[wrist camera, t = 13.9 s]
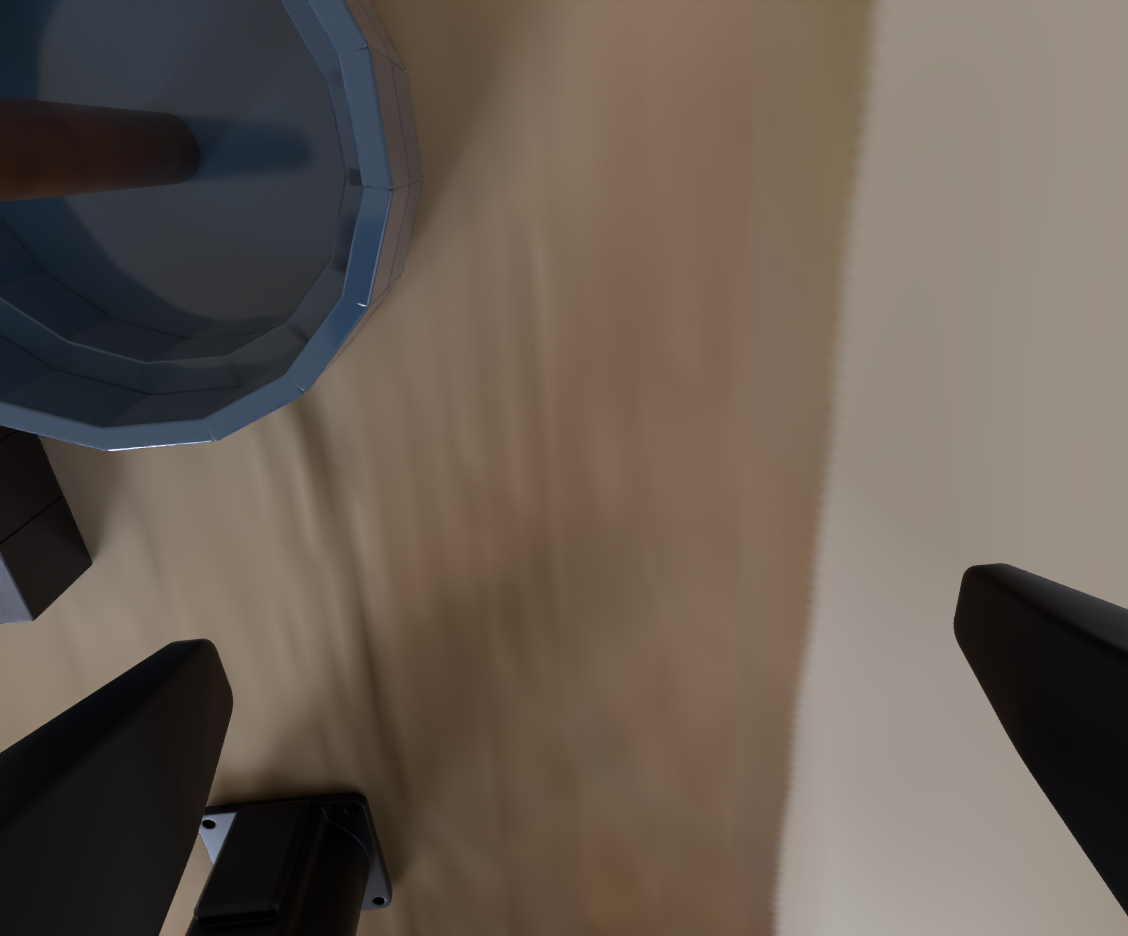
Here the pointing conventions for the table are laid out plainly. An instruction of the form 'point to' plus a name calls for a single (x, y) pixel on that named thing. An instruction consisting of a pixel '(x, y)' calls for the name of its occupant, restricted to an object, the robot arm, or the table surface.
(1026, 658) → the robot arm
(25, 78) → the bowl
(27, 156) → the stick
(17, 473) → the holder
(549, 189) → the table surface
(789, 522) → the table surface
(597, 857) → the table surface
